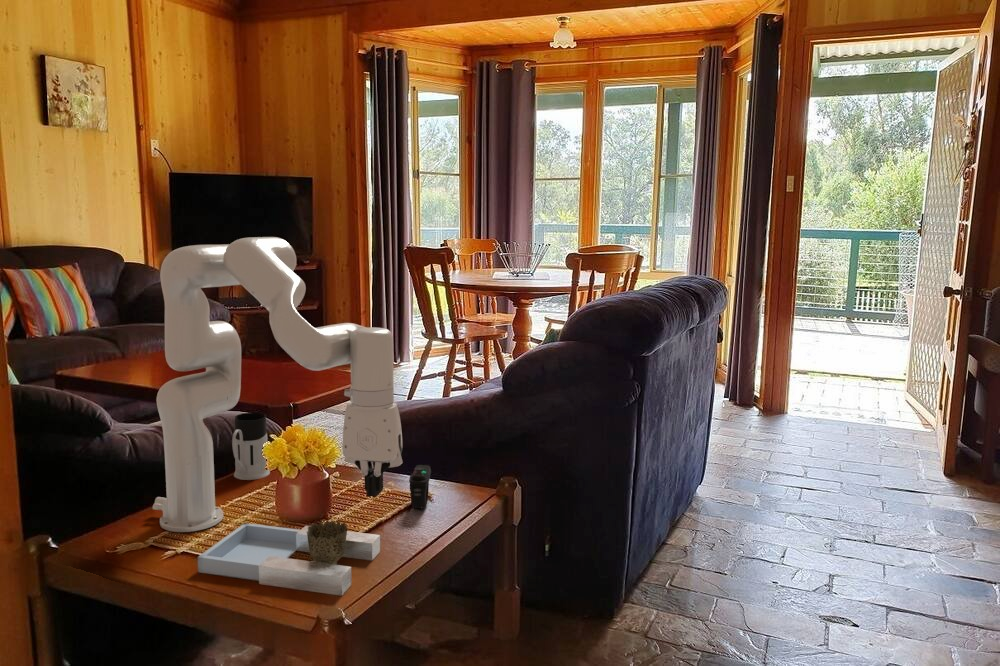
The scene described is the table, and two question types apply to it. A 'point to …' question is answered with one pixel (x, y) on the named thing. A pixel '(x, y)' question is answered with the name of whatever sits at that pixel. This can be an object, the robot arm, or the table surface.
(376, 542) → the groove rails
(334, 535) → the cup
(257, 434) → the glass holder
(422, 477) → the controller
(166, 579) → the table surface
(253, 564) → the tray
